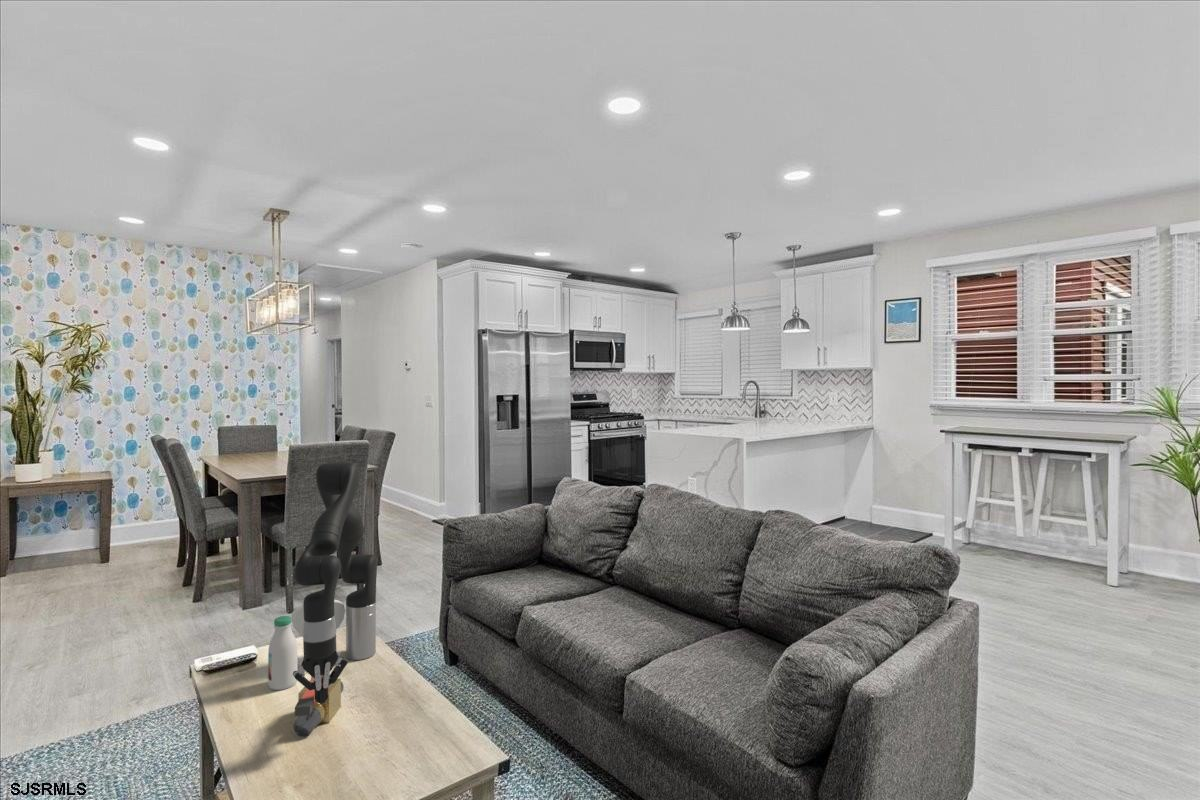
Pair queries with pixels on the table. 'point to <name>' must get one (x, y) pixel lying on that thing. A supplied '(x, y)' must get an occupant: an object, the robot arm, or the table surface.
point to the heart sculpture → (299, 620)
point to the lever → (305, 703)
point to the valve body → (320, 710)
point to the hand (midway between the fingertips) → (321, 702)
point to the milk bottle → (282, 655)
